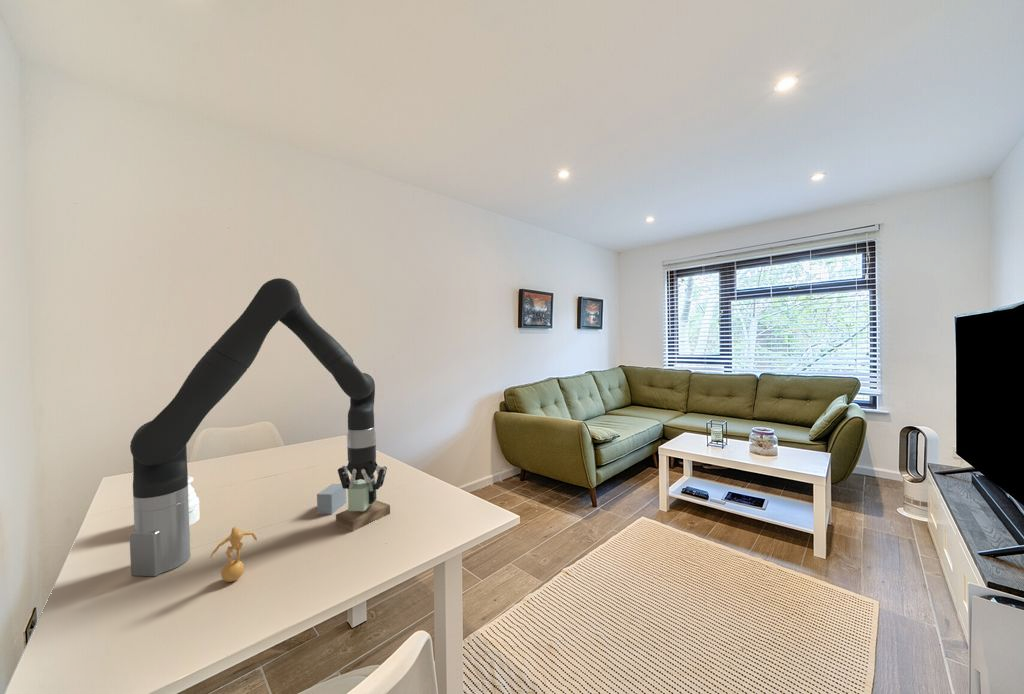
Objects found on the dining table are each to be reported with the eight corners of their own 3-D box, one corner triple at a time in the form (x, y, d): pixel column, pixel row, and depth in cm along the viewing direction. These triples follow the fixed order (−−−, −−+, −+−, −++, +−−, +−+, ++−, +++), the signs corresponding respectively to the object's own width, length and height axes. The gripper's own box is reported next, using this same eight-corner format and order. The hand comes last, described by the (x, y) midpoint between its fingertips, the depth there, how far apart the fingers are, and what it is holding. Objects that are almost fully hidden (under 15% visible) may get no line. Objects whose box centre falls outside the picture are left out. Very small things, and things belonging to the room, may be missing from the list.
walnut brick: (353, 532, 100) (352, 521, 100) (336, 525, 105) (335, 514, 105) (390, 515, 110) (389, 504, 110) (373, 508, 115) (372, 499, 115)
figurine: (251, 567, 85) (250, 514, 85) (262, 576, 81) (260, 521, 81) (206, 586, 78) (204, 530, 78) (215, 598, 75) (213, 538, 75)
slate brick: (332, 514, 110) (331, 494, 110) (317, 514, 111) (316, 494, 111) (346, 502, 118) (345, 484, 118) (332, 502, 119) (332, 483, 119)
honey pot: (208, 510, 114) (206, 452, 114) (186, 531, 102) (184, 465, 102) (155, 517, 111) (153, 456, 110) (126, 539, 98) (123, 471, 98)
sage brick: (364, 511, 103) (363, 489, 103) (348, 510, 104) (347, 489, 104) (377, 498, 111) (376, 478, 111) (362, 498, 112) (361, 478, 112)
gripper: (330, 447, 104) (331, 508, 104) (380, 447, 103) (381, 509, 103) (344, 439, 111) (346, 496, 112) (391, 440, 110) (392, 497, 111)
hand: (363, 502), depth 107 cm, fingers closed on sage brick, 4 cm apart
